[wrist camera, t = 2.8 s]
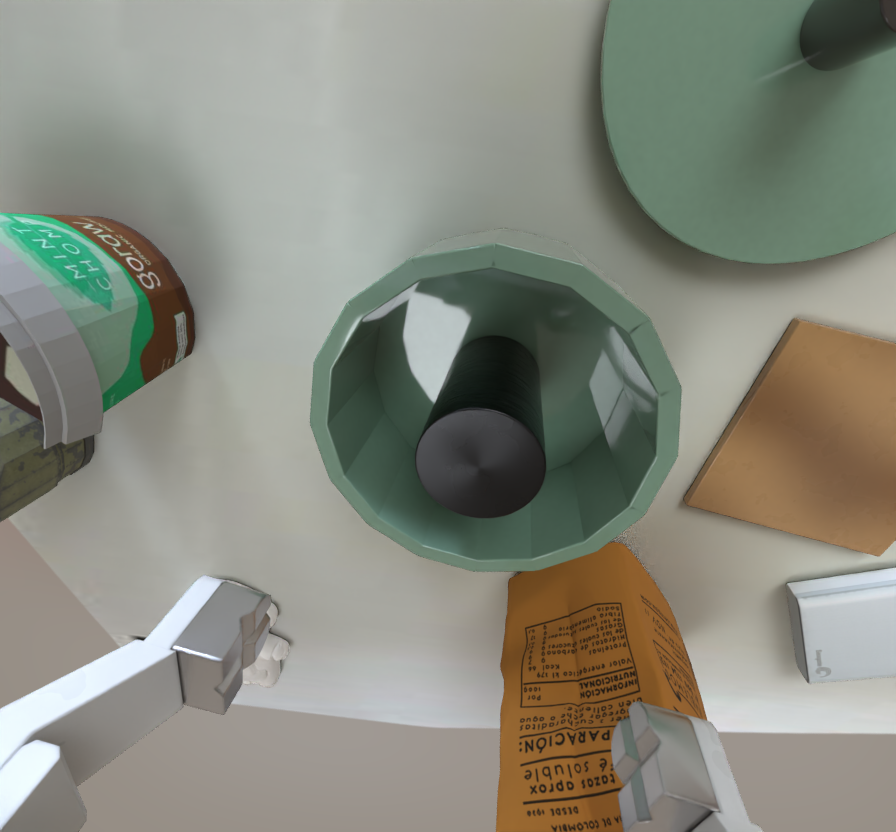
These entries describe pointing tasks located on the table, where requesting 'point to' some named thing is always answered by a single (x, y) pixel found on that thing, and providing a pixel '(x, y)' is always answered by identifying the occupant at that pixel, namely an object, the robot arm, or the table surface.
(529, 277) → the pot
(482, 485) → the tin
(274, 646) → the white flat figurine
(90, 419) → the food container
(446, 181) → the table surface
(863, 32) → the lid
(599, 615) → the coffee package
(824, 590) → the hard drive
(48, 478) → the grey-green stone column
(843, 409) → the trivet
